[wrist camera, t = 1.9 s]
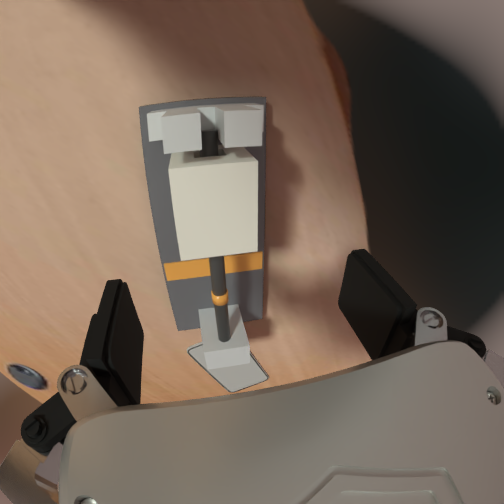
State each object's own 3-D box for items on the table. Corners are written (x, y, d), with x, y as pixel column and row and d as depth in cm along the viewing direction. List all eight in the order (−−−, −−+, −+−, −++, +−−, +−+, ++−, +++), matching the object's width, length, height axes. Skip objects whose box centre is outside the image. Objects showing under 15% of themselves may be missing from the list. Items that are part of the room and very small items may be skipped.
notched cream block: (172, 149, 19) (168, 169, 15) (240, 143, 20) (258, 161, 15) (180, 222, 22) (180, 260, 18) (241, 215, 23) (257, 251, 19)
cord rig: (141, 106, 20) (114, 115, 12) (261, 96, 21) (305, 102, 14) (177, 321, 33) (182, 389, 25) (259, 310, 34) (281, 373, 27)
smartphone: (230, 393, 44) (184, 350, 35) (229, 390, 44) (183, 346, 36) (270, 378, 44) (234, 330, 35) (269, 375, 44) (233, 326, 36)
